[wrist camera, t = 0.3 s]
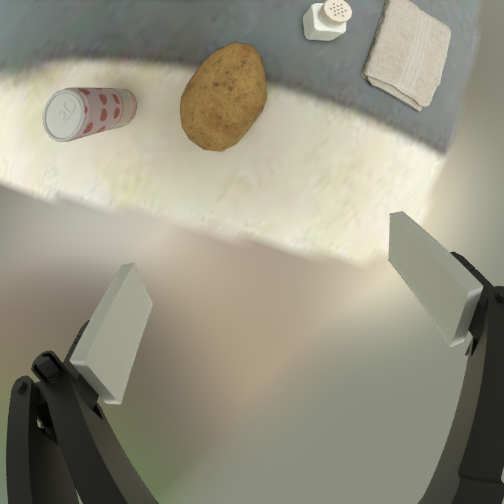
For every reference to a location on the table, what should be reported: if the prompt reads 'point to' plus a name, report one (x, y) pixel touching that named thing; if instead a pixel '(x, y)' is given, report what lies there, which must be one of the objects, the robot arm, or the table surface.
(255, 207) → the table surface
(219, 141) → the potato
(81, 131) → the beverage can
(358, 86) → the table surface
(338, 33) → the salt shaker
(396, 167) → the table surface
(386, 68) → the washcloth
